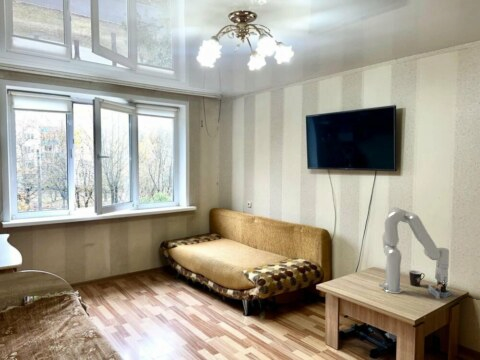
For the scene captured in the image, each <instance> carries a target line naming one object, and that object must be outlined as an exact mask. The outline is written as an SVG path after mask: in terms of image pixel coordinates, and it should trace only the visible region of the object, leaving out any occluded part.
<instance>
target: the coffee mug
mask: <svg viewBox="0 0 480 360" xmlns="http://www.w3.org/2000/svg"><path fill="white" fill-rule="evenodd" d="M408 273H409V274H408V275H409V284H410V286H412V287H415V288H416V287H417V288H418V287H420V285H421V281H422V280H423V279H424V278H425V273H424V272H422V271H419V270H413V269H412V270H411V269H410V270H409V271H408ZM422 275H423V276H422Z"/></svg>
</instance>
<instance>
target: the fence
mask: <svg viewBox="0 0 480 360" xmlns="http://www.w3.org/2000/svg"><path fill="white" fill-rule="evenodd" d="M431 290H432V296H434V297H435V299H436V300H441V297H440V296H439V293H438V292H437V291H436V290H435V288H434V287H432V285H428V289H427V292H429V293H430V294H431Z"/></svg>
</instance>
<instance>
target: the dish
mask: <svg viewBox="0 0 480 360" xmlns="http://www.w3.org/2000/svg"><path fill="white" fill-rule="evenodd" d="M434 289H435V290H436V291H437V292H438V293H439V297H440V298H441V297H442V298H448V297H450V296H452V295H453V293H452V291H451V290H449V289H448V290H447V289H446V292H441V291H439V290H438V289H437V287H435V288H434ZM430 294H432V290H431V293H430ZM432 295H433V294H432Z"/></svg>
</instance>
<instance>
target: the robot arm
mask: <svg viewBox="0 0 480 360" xmlns="http://www.w3.org/2000/svg"><path fill="white" fill-rule="evenodd" d="M400 222H403V223H405V224H407V225H408V226H409V228H410V230H411V231H412V233H413V235H414V238H416V241H418V242H419V243H420V245H422V247H423V248H424V249H423V254H424V255H425V256H426V257H427V258H429V259H430V260H431V261H436V264H435V266H436V267H435V275H434V279H435V280H436V283H437V284H436V288H437V289H438V285H439V284H441V292H446V290H447V286H448V282H449V264H450V263H449V262H450V250H449V249H448V248H445V247H437V245H436V243H435V242H434V240H433V239H432V237H431V235H430V234H429V232H428V231H427V229H426V227H425V225H424V224H423V221H422V219H421V218H420V217H419V216H418V214H415V213H414V212H411V211H406V210H405V209H401V208H399V207H391V208H390V209H389V210H388V216H386V218H385V221H384V232H383V234H382V246H383V247H382V248H383V253H384V255H385V256H386V264H385V282H384V283H383V284H382V283H378V287H380V288H383V291H385V292H386V293H391V294H401V293H403V290H402V288H401V265H402V264H401V263H402V252H401V251H400V249H399V248H398V246H397V245H398V244H399V240H400V239H399V231H398V225H399V223H400Z"/></svg>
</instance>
